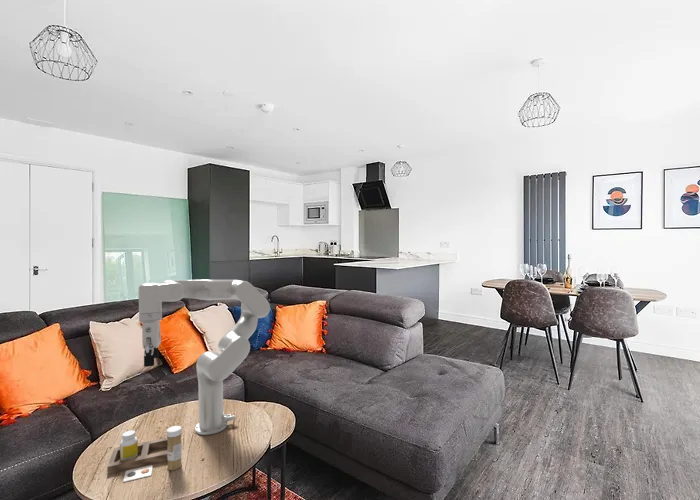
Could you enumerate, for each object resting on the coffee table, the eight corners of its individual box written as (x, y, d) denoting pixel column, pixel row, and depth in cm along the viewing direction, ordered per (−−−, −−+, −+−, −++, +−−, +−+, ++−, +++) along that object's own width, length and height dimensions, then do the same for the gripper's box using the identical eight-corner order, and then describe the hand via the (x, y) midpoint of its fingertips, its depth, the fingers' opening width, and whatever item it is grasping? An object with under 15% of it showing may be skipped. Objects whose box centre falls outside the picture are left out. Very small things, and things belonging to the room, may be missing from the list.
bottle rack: (177, 441, 140) (177, 435, 140) (176, 458, 129) (176, 451, 129) (114, 455, 132) (114, 448, 131) (107, 474, 121) (107, 467, 120)
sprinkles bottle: (165, 467, 124) (164, 428, 124) (178, 461, 128) (177, 423, 127) (170, 472, 121) (170, 433, 121) (184, 466, 125) (183, 427, 124)
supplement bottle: (141, 458, 130) (140, 431, 129) (126, 466, 125) (126, 438, 124) (131, 454, 132) (131, 428, 132) (116, 462, 127) (116, 435, 127)
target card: (152, 465, 125) (152, 464, 125) (151, 475, 120) (151, 474, 120) (126, 471, 122) (126, 470, 122) (122, 482, 116) (122, 481, 116)
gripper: (158, 320, 128) (159, 368, 128) (164, 311, 144) (165, 354, 144) (134, 322, 125) (135, 371, 125) (143, 313, 141) (144, 356, 142)
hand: (151, 361), depth 135 cm, fingers open, 9 cm apart
